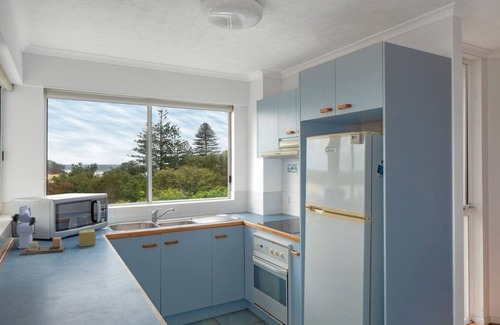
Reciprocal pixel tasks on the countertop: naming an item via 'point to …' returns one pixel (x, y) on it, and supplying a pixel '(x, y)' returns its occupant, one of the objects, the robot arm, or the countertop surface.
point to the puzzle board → (44, 250)
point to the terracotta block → (57, 241)
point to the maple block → (33, 246)
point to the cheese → (87, 237)
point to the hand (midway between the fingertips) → (23, 223)
